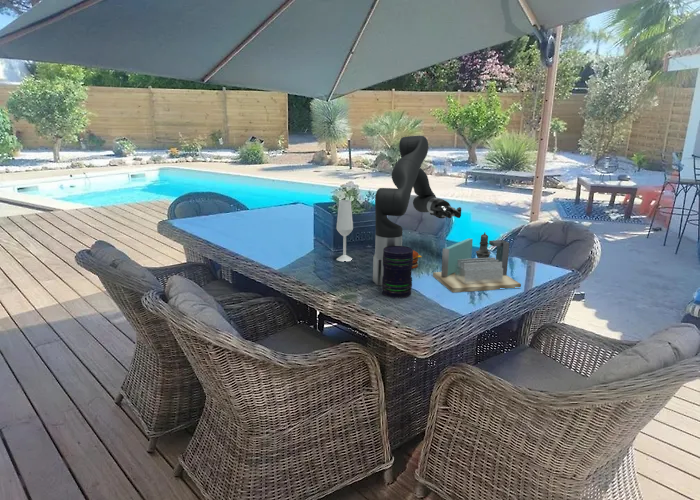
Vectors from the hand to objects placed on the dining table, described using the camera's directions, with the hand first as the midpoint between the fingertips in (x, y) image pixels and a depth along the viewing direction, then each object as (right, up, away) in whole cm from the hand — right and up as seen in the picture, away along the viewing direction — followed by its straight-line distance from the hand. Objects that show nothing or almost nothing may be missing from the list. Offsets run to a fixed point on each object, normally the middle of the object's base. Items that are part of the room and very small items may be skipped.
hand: (455, 215), depth 196 cm
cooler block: (+7, -23, -15) cm, 28 cm away
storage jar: (-25, -28, -27) cm, 46 cm away
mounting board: (+4, -25, -15) cm, 29 cm away
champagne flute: (-43, -17, +12) cm, 48 cm away
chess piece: (+14, -18, +12) cm, 25 cm away
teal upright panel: (-1, -21, -7) cm, 22 cm away
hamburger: (-18, -20, +4) cm, 27 cm away
